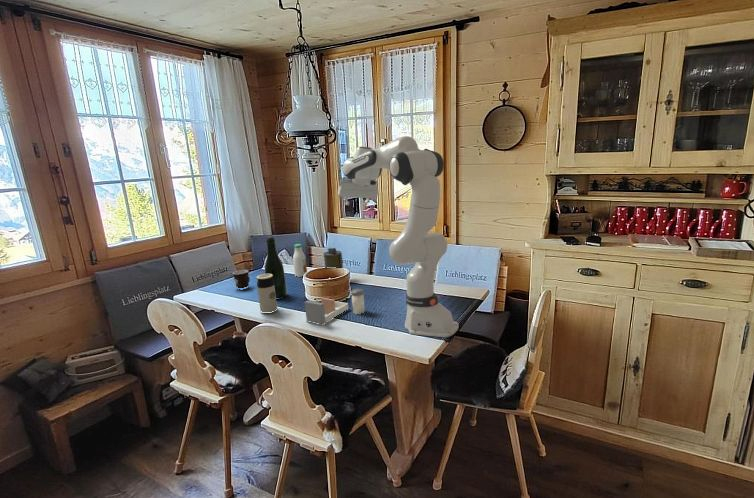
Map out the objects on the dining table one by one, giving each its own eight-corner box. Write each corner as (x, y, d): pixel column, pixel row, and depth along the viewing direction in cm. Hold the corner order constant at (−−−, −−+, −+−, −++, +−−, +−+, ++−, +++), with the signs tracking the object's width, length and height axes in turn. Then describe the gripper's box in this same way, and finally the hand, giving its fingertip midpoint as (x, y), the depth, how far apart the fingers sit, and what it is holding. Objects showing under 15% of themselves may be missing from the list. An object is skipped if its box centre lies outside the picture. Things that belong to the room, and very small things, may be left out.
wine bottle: (264, 297, 218) (256, 237, 210) (281, 292, 224) (274, 233, 217) (273, 301, 210) (265, 239, 202) (291, 296, 217) (284, 236, 209)
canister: (322, 283, 235) (319, 250, 231) (332, 278, 244) (329, 245, 240) (338, 285, 230) (335, 251, 226) (347, 279, 239) (345, 246, 235)
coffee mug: (234, 287, 237) (232, 271, 235) (249, 285, 241) (247, 268, 238) (236, 293, 227) (234, 276, 224) (252, 290, 230) (250, 273, 228)
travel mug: (257, 311, 198) (252, 276, 193) (272, 306, 203) (267, 272, 199) (266, 315, 192) (261, 279, 188) (280, 310, 197) (276, 275, 193)
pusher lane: (348, 309, 193) (347, 290, 191) (322, 325, 177) (320, 304, 175) (333, 306, 198) (331, 288, 196) (306, 322, 182) (304, 302, 179)
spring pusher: (335, 313, 187) (334, 299, 185) (334, 314, 186) (332, 300, 184) (324, 311, 190) (322, 297, 188) (322, 312, 189) (321, 298, 187)
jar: (367, 310, 190) (365, 289, 188) (360, 315, 185) (359, 293, 183) (357, 309, 193) (355, 288, 191) (350, 313, 188) (348, 291, 186)
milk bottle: (300, 278, 248) (297, 246, 243) (292, 276, 253) (288, 245, 248) (309, 274, 254) (306, 243, 249) (301, 273, 259) (298, 242, 254)
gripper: (341, 180, 193) (337, 206, 199) (381, 182, 201) (376, 208, 207) (338, 175, 199) (334, 202, 205) (376, 178, 206) (372, 203, 212)
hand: (356, 205), depth 206 cm, fingers open, 8 cm apart
